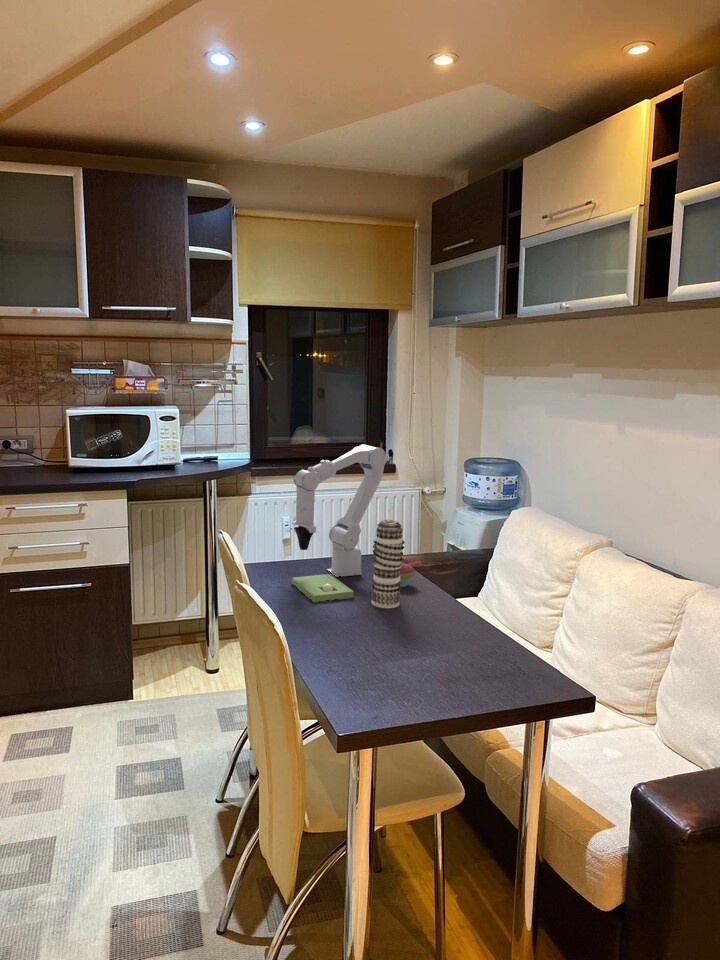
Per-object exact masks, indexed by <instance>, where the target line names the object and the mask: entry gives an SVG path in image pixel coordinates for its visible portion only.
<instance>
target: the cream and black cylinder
mask: <svg viewBox="0 0 720 960" xmlns="http://www.w3.org/2000/svg"><path fill="white" fill-rule="evenodd" d="M375 528H376V535H375V540H373V545H372V547H373V551H372V553H373V557H372V560H373V562H372V566H374V573H373V577H372V578H373V579H372V580H371V582H372V585H371V588H372V590H371V597H370V599H371V602H370V603H371V605H372V606H374V607H377V608H381V609H394V608H398V607H399V606H400V604H401V603H400V600H401V598H400V596H401V593H400V592H401V588H402V587H400V584H401V582H400V568H401V567H402V564H401V563H402V562H403V560H404V558H403V556H404V553H403V551H402V550H404V549H405V546H404V544H405V543H406V542H405V540H403V539H404V538H403V531H404V526H402V524H401V523H400V522H399V521H397V520H396V519H395V520H394V519H382V520H380V521H379V522H378V524H376V525H375ZM400 561H401V563H400Z"/></svg>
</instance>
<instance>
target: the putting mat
mask: <svg viewBox="0 0 720 960" xmlns="http://www.w3.org/2000/svg"><path fill="white" fill-rule="evenodd" d="M325 584H330V585H331V586H332V587H333V591H329V592H323V591H322V588H323V586H324V585H325ZM291 585H292V586H294V585H295V586H296V587H297V588H298V589H297V588H296V587H295V586H294V587H295V588H296V589H297V590H299V591H300V593H302V592H303V593H304V594H305V597H307V598H308V600H310V599H311V600H312V601H311V600H310V601H311V602H313V603H320V602H319V601H321V602H327V601H326V600H329V601H335V600H334V599H338V600H344V599H353V598H354V590H353V589H351V588H350V587H349V586H347V585H346V584H344V583H343V582H341V581H340V580H339V579H337V577H336V576H334V575H333V574H331V573H327V574H316V575H314V574H313V575H307V576H305V575H304V576H297V577H291ZM303 593H302V594H303Z"/></svg>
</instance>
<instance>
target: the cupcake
mask: <svg viewBox="0 0 720 960" xmlns="http://www.w3.org/2000/svg"><path fill="white" fill-rule="evenodd" d="M400 563H401V564H402V567H401V568H400V582H401V584H400V587H401V588H406V587H408V585H409V582H410V580H411V578H412V577H414V576H415V571H416V570H415V569H414V567H413V566H412V565H411V564H409V563H405V562H402V561H400Z"/></svg>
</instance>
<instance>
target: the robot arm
mask: <svg viewBox="0 0 720 960" xmlns="http://www.w3.org/2000/svg"><path fill="white" fill-rule="evenodd" d="M387 461H388V458H387V456H386V451H385V450H384V449H383V448H381V447H376V446H372V445H367V444H364V443H363V444H360V445H359V446H354V447H353V449H351V450H350V451H348V452H347V453H345V454H343V455H341V456H339V457H338V458H336V459H334V460H332V461H330V460H329V459H325V460H324V459H322V460H320V461H319V463H318V464H315V465H314V466H309V467H307V470H306V469H301V470H299V471H298V472H296V474H295V476H294V478H293V484H294V486H295V487H296V498H295V499H296V501H295V503H296V504H295V506H296V507H295V516H293V521H292V522H291V524H292V525H293V526H294V528H293V529H294V533H295V534H296V537H297V542H298V547H299V550H301V551H307V550H308V549H309V545H310V543H311V539H312V537H313V534H314V533H315V534H316V532H317V526H316V523H315V521H314V519H315V492H316V489H317V488H318V487H319V485H320V484H321V483H323V482H326V481H327V480H330V479H331V478H333V477H335V476H336V473H337V471H340V470H342V469H344V468H347V467H350V466H351V465H353V464H355V463H358V464H359V465H360V467H361V468H362V469H363V472H364V477H363V479H362V481H361V482H360V485H359V487H358V489H357V490H356V492H355V495H354V497H353V499H352V500H351V502H350V505H349V506H348V509H347V510H346V513H345V514H344V516H343V517H341V518H339V519H338V520H337V521H336V522H335V524H334V525H333V526H332V527H331V528H330V530H329V533H328V539H329V540H330V541H331V545H332V546H331V547H332V548H331V549H332V552H331V567H330V568H326V571H327V570H328V572H329V571H330V572H331V573H332V574H331V573H330V572H329V573H330V574H331V575H332V576H334V575H335V576H334V577H335V578H338V577H339V576H341V577H349V576H360V575H363V574H362V572H361V571H362V551H361V549H360V546H357V545H358V544H359V540H360V535H361V533H362V529H361V526H360V522H361V521H362V519H363V517H364V515H365V513H366V510H367V509H368V507H369V505H370V503H371V501H372V499H373V497H374V494H376V491H377V489H378V488H379V486H380V483H381V482H382V479H383V475H384V469H385V465H386V463H387Z"/></svg>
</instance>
